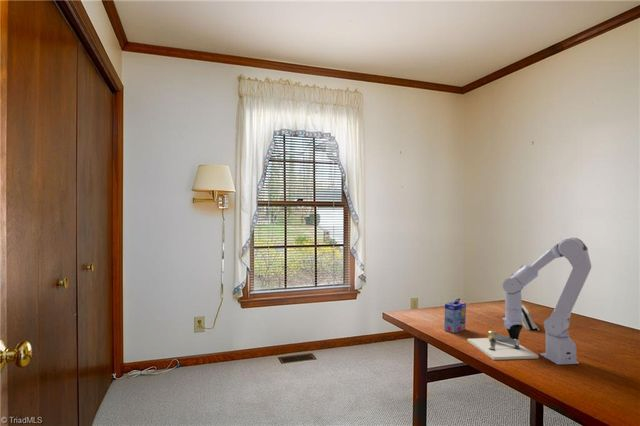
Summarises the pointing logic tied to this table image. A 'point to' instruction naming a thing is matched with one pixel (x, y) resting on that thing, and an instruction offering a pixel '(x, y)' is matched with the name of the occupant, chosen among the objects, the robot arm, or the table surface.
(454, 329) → the ink cartridge box
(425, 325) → the table surface
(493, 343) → the divider fixed leg
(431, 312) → the table surface
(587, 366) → the table surface
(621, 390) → the table surface
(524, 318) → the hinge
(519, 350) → the plate
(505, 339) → the divider leg
